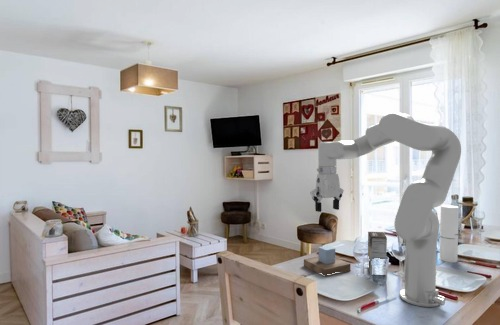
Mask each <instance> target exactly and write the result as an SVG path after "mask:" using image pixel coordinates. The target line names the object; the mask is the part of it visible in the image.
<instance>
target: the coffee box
mask: <svg viewBox="0 0 500 325" xmlns="http://www.w3.org/2000/svg"><path fill="white" fill-rule="evenodd" d="M367 233H368V234H367V257H368V256H369V259H370V261H369V269H368V271H369V275H370V276H373V275H372V265H371V261H372V259H374V258H380V259H386V260H387V245H388V244H387V243H388V239H387V235H385V232H383V231H367Z"/></svg>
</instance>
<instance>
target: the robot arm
mask: <svg viewBox="0 0 500 325" xmlns="http://www.w3.org/2000/svg"><path fill="white" fill-rule="evenodd" d="M394 142H396V143H399V144H402V145H404V146H406V147H409V148H411V149H414V150H417V151H421V152H431V156H430V157H429V159H428V161H427V163H426V166H425V169H424V172H423V174H422V176H421V179H420V180H416V181H413V182H411V183H410V184H408V186H407V187H406V188H405V191H404V192H403V194H402V198H401V200H400V203H399V206H398V209H397V211H396V215H395V217H394V224H393V225H394V229H395V232H396V234H397V235H398V237H400V238H401V239H402V240H403V241H405V249H404V250H405V253H404V255H405V256H404V288H403V289H400V291H399V297H400V298H401V300H403V301H404V302H406V303H408V304H411V305H413V306H417V307H424V308H434V307H437V306H439V305H440V306H445V304H446V297H445V296H443V295H440V294H439V291H440V290H439V289H438V288H436V283H437V282H436V278H437V277H436V276H437V275H436V273H437V246H438V237H439V234H440V232H439V231H440V220H439V217H438V215H437V214H436V213H435V211H433V209H434V208H437V207H441V205H444V203H445V201H446V199H447V196H448V194H449V190H450V188H451V184H452V182H453V179H454V176H455V173H456V170H457V167H458V165H459V163H460V159H461V155H462V146H461V142H460V139H459V138H458V136H457V135H456V134H455V133H454V132H453V131H452V130H451V129H450V128H448V127H445V126H443V125H440V124H427V123H424V122H421V121H419V120H415V119H414V118H413V116H411V115H409V114H407V113H402V112H389V113H386V114H384V115H383V116H382V117H381V118H380V120H379V122H378V123H375V124H372V125H370V126H369V127H367V128H366V130H365V134H363V135H362V136H361V137H358V138H355V139H353V140H336V141H321V142H319V143H318V153H317V154H318V155H317V156H318V157H317V159H318V163H317V164H318V167H317V168H316V172H318V174H316V179H315V180H316V181H315V188H314V189H313V190H312V191H310V196H311V198H312V200H313V202H314V203H315V204H314V207H315V212H318V213H321V212H322V200H323V198H324V199H329V198H333V200H332V209H334V210H337V211H338V210H340V201H341V198H342V197H343V193H344V191H345V190H344V189H343V188H341V186H340V185H341V184H340V178H339V173H337V160H350V159H351V160H353V159H356V158H359V157H362V156H365V155H367V154H369V153H372V152H373V151H375V150H377V149H379V148H381V147H384V146H386V145H388V144H389V145H390V144H392V143H394Z"/></svg>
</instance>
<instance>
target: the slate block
mask: <svg viewBox="0 0 500 325" xmlns="http://www.w3.org/2000/svg"><path fill="white" fill-rule="evenodd" d="M318 256H319V257H318ZM318 256H317V257H318V261H320V262H322V263H324V264H330V263H334V262H335V257H336V248H334V247H332V246H330V245H323V246H318Z"/></svg>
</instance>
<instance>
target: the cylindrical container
mask: <svg viewBox="0 0 500 325" xmlns="http://www.w3.org/2000/svg"><path fill="white" fill-rule="evenodd" d="M459 212H460V209H459V206H457V205H452V204H441V205H440V220H439V231H440V232H439V260H441V261H442V262H446V263H458V253H459V250H458V249H459V244H458V243H459V217H460V216H459V215H460V214H459Z"/></svg>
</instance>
